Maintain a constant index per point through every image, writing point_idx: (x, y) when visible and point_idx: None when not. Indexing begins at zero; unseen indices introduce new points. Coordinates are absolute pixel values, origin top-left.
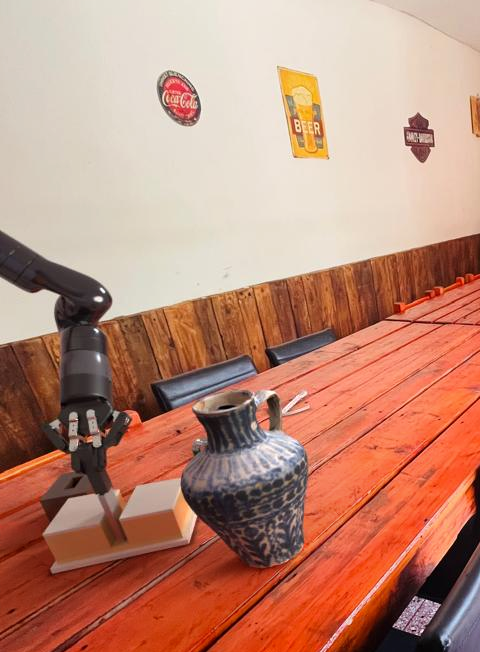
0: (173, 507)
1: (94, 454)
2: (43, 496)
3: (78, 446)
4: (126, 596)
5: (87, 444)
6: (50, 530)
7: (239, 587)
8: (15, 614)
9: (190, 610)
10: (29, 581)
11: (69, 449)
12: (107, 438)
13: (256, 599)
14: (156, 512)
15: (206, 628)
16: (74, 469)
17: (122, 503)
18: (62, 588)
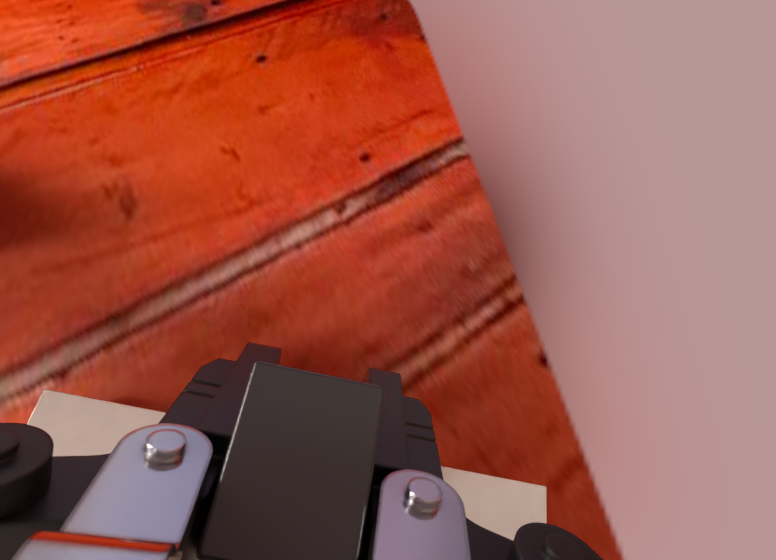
0: (36, 410)
1: (236, 400)
2: None
3: (364, 472)
4: (293, 257)
5: (267, 470)
6: (524, 502)
7: (44, 138)
8: (532, 340)
9: (166, 134)
10: (552, 482)
11: (459, 498)
12: (2, 444)
13: (29, 86)
14: (115, 403)
15: (150, 77)
16: (406, 397)
17: None
18: (451, 387)
